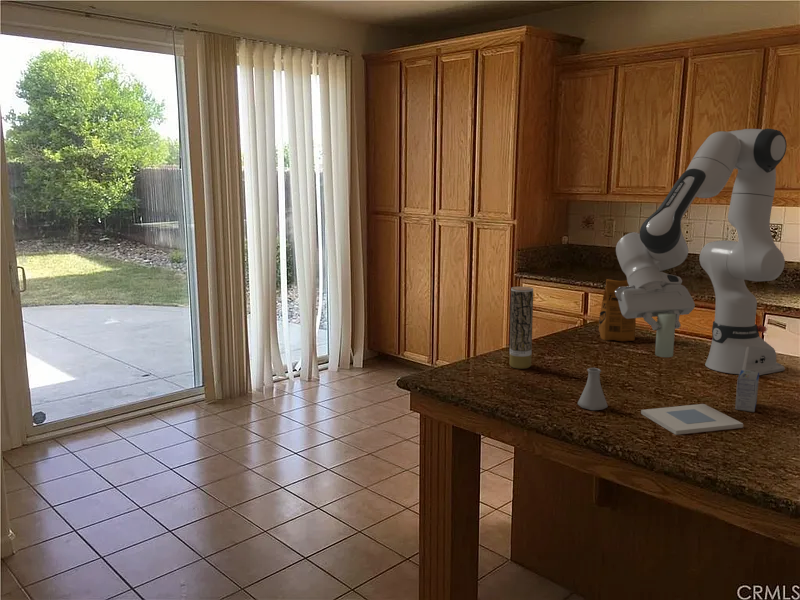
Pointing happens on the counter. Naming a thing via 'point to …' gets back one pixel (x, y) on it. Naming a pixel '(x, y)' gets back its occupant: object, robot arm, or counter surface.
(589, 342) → the counter surface
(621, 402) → the counter surface
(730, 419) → the card
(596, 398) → the flask
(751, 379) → the medicine box
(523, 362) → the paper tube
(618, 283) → the coffee package
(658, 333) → the pale green cylinder
